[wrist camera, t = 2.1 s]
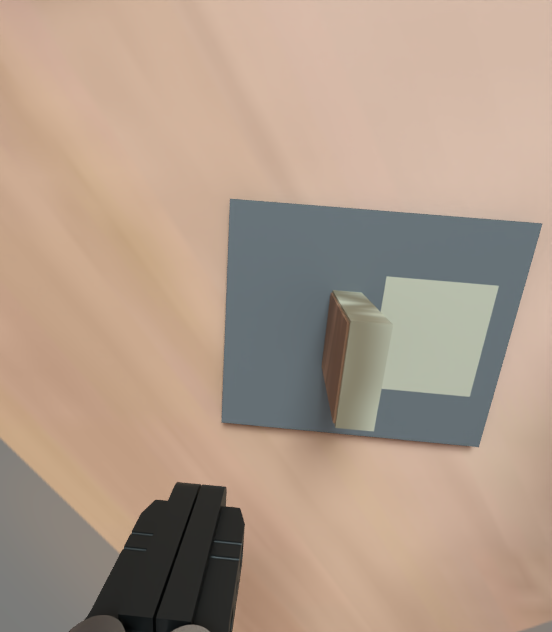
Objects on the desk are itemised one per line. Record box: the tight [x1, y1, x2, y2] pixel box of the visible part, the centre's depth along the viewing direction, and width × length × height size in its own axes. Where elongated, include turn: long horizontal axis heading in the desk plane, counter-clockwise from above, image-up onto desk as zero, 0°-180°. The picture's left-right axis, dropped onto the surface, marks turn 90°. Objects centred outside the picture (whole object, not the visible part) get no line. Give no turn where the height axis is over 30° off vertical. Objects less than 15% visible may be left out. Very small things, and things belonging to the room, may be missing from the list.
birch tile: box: [322, 290, 393, 431], centre depth 24 cm, size 3×7×9 cm, turn 175°
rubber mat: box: [222, 199, 542, 447], centre depth 29 cm, size 24×20×1 cm
